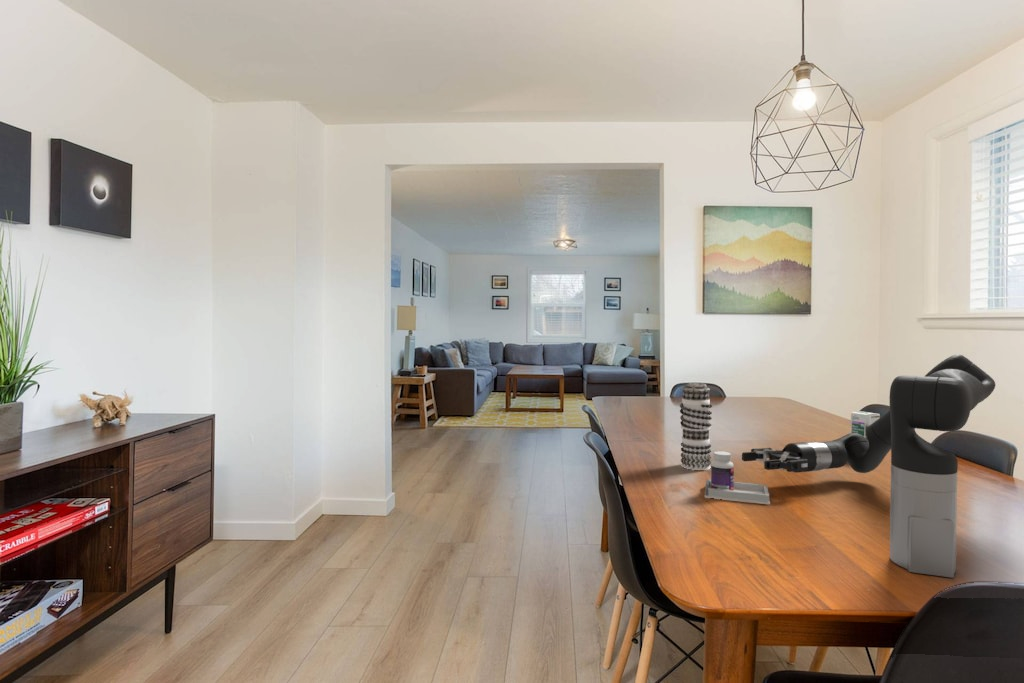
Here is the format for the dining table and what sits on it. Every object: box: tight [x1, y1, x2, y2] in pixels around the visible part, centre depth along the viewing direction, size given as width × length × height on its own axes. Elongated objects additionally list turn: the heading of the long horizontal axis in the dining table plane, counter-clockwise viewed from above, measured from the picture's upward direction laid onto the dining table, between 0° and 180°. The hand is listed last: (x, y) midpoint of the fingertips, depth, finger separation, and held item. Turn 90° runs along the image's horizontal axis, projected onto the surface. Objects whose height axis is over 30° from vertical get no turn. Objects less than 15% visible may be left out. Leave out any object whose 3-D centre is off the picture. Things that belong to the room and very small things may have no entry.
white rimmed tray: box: [704, 478, 771, 506], centre depth 132 cm, size 14×10×2 cm
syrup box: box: [850, 410, 881, 443], centre depth 166 cm, size 6×6×14 cm
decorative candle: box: [679, 382, 713, 471], centre depth 158 cm, size 9×9×25 cm
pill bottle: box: [710, 450, 735, 491], centre depth 133 cm, size 5×5×10 cm
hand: (753, 461), depth 135 cm, fingers open, 8 cm apart
